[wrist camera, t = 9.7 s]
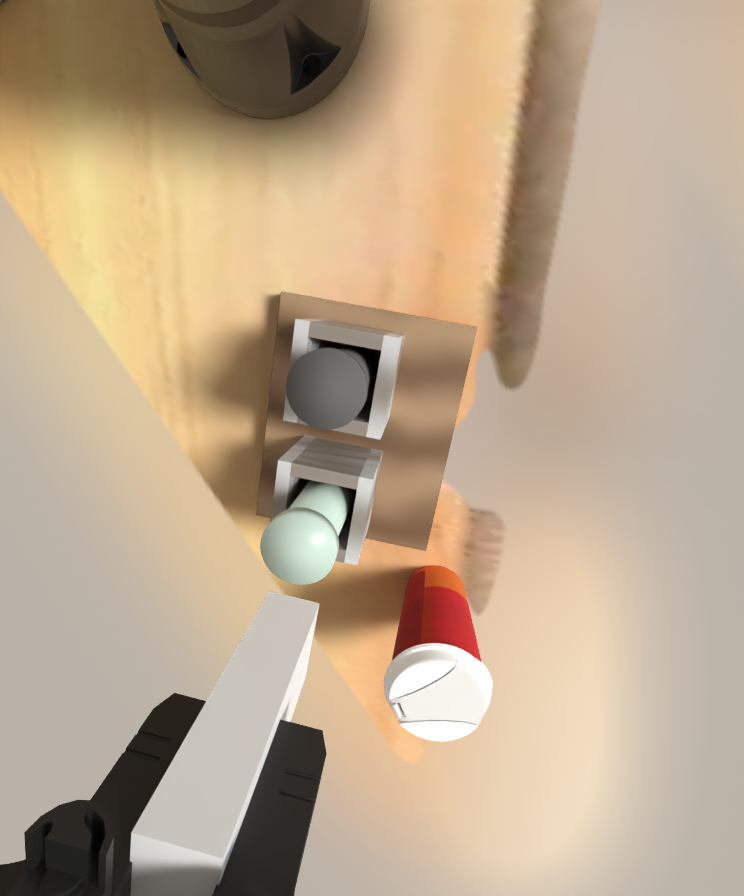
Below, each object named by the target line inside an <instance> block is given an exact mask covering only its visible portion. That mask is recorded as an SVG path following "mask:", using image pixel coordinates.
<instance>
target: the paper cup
mask: <svg viewBox="0 0 744 896" xmlns="http://www.w3.org/2000/svg"><path fill="white" fill-rule="evenodd" d="M492 686H493V683H492V679H491V676H490V674H489V672H488V670H487V668H486V667H485V665H484V664H483V663H482V662H481V658H480V654H479V650H478V646H477V641H476V636H475V632H474V627H473V623H472V619H471V614H470V610H469V606H468V602H467V597H466V594H465V590H464V587H463V584H462V582H461V580H460V578H459V577H458V576H457V575H456V574H455V573H454V572H453V571H451V570H449V569H447V568H445V567H441V566H428V567H424V568H422V569H420V570H418V571H417V572H415V573H414V574H413V575H412V577H411V578H410V580H409V582H408V585H407V588H406V593H405V597H404V602H403V607H402V612H401V617H400V622H399V627H398V632H397V637H396V642H395V648H394V653H393V658H392V662H391V663H390V665H389V666H388V668H387V671H386V673H385V677H384V692H385V696H386V699H387V701H388V703H389V705H390V707H391V709H392V710H393V712H394V714H395V716H396V717H397V718H398V720H399V723H400V725H401V726H402V727H403V728H405V729H406V730H407V731H409V732H410V733H412V734H414V735H416V736H418V737H421V738H423V739H427V740H432V741H450V740H455V739H459V738H461V737H464V736H466V735H468V734H469V733H471V732H472V731H473V730H475V729H476V728H477V726H478V725H479V723H480V721H481V719H482V717H483V714H484V713H485V711H486V709H487V708H488V705H489V703H490V700H491V692H492Z"/></svg>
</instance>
